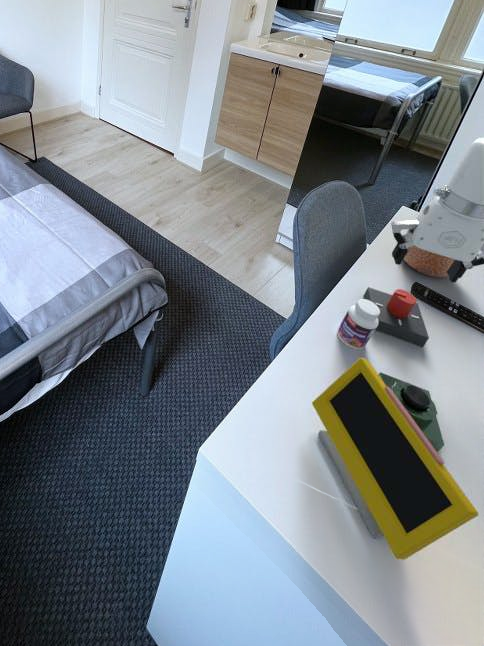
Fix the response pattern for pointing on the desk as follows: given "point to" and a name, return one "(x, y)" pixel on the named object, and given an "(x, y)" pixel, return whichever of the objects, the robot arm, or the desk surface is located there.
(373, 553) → the desk surface
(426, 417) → the vent housing
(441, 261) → the planter
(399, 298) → the dial
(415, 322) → the handle block
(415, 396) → the vent button
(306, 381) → the desk surface
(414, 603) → the desk surface
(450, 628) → the desk surface
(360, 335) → the pill bottle
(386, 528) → the yellow framed monitor
